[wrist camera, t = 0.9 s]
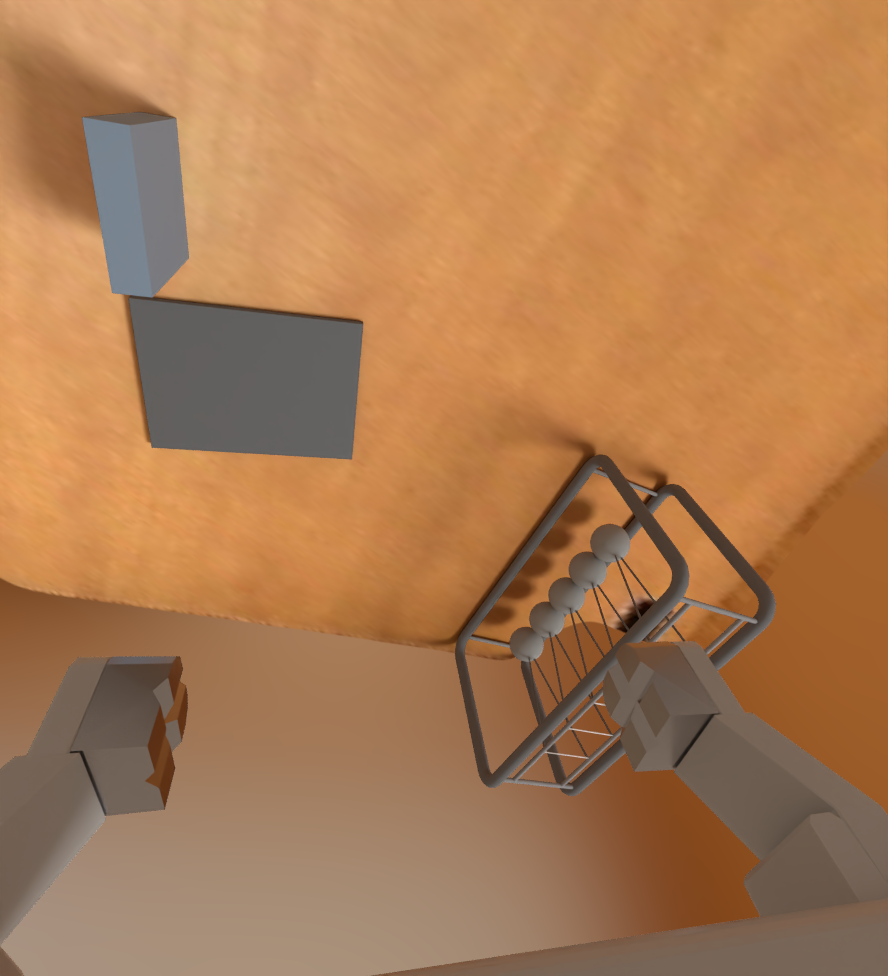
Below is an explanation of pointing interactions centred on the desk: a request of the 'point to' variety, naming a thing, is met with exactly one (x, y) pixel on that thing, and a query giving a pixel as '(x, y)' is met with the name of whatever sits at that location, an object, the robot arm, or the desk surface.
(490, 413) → the desk surface
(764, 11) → the desk surface
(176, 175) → the tile
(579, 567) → the newton's cradle
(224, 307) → the mat
